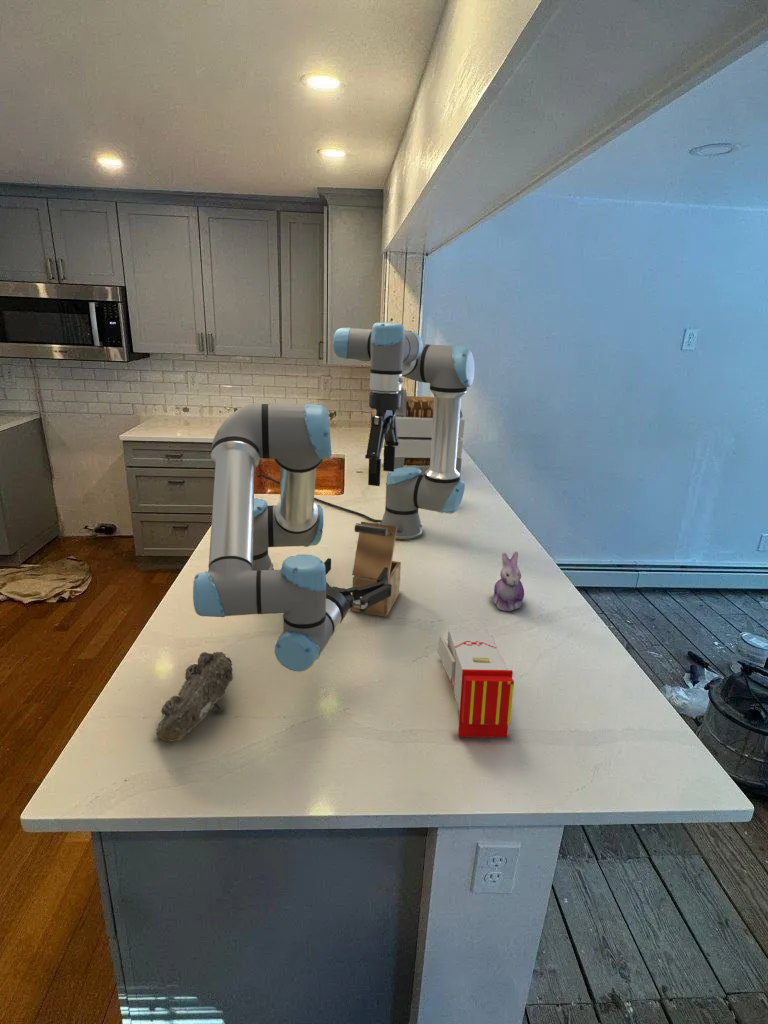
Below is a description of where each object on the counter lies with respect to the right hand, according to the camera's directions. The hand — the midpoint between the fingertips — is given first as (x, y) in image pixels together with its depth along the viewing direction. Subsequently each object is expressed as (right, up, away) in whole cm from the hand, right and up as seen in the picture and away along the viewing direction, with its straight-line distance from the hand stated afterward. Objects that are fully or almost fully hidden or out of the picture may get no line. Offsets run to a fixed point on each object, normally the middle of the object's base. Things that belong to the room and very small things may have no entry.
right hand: (381, 477), depth 141 cm
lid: (-2, -19, +3) cm, 19 cm away
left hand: (-5, -21, -11) cm, 25 cm away
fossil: (-35, -47, -31) cm, 66 cm away
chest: (-1, -33, +12) cm, 35 cm away
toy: (+19, -46, -23) cm, 55 cm away
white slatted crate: (+18, +10, +134) cm, 135 cm away
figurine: (+35, -34, +14) cm, 50 cm away
